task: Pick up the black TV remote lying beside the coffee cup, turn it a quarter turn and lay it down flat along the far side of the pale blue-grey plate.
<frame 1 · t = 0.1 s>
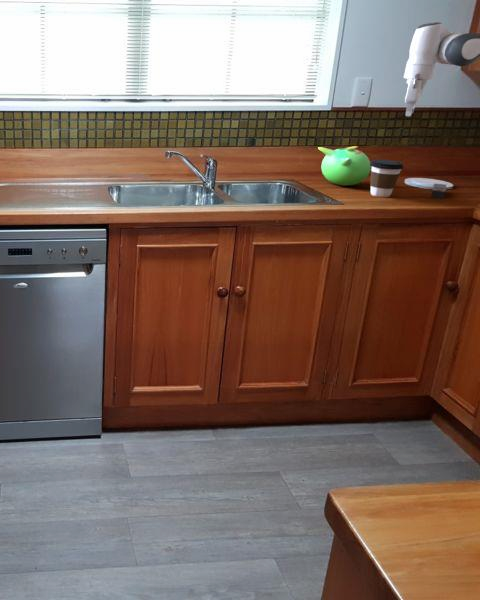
hand: (409, 114, 217), 27 cm above the table, tool pointing down, fingers open, 8 cm apart
toy bird: (340, 185, 235), on the table
plate: (428, 184, 239), on the table
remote: (437, 194, 223), on the table
coffee cup: (379, 195, 220), on the table
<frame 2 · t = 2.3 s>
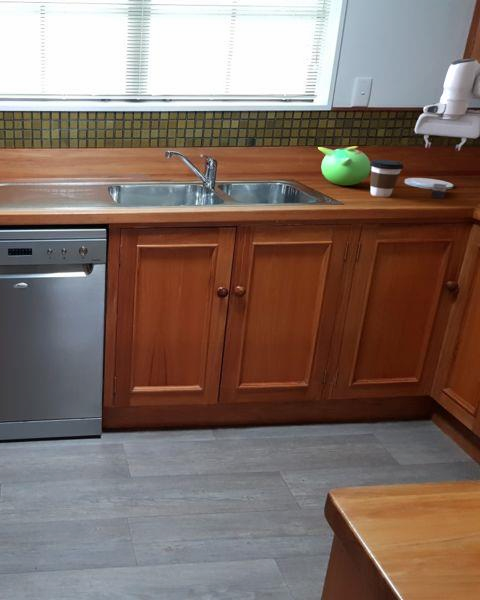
hand: (442, 148, 217), 16 cm above the table, tool pointing down, fingers open, 8 cm apart
nothing on the table moved.
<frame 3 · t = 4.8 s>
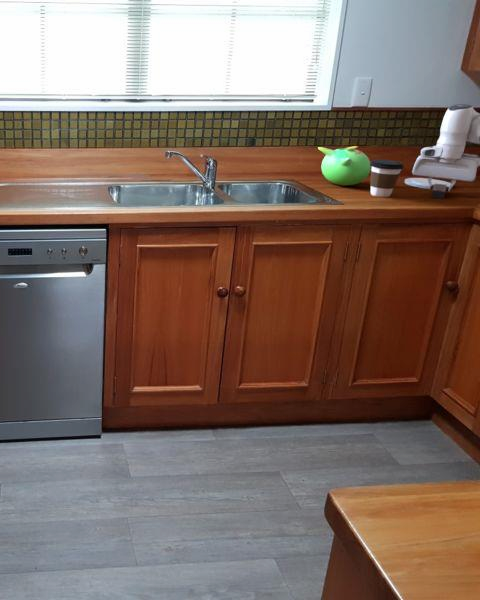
hand: (438, 190, 222), 2 cm above the table, tool pointing down, fingers closed on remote, 4 cm apart
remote: (437, 194, 223), on the table, touching gripper
everything else where it was.
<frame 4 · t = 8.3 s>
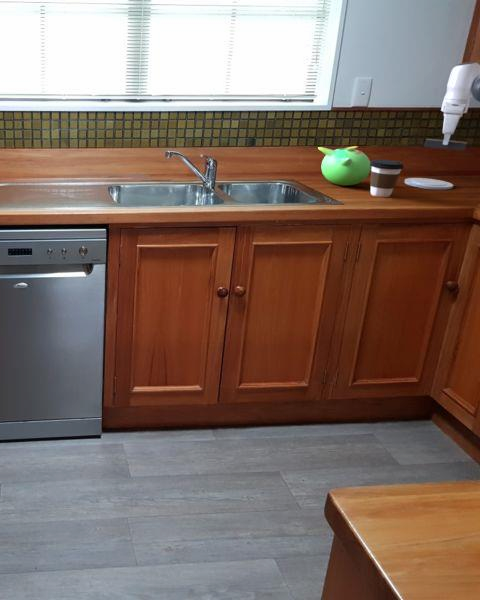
hand: (445, 143, 239), 15 cm above the table, tool pointing down, fingers closed on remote, 4 cm apart
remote: (444, 148, 239), point 13 cm above the table, touching gripper
everything else where it was.
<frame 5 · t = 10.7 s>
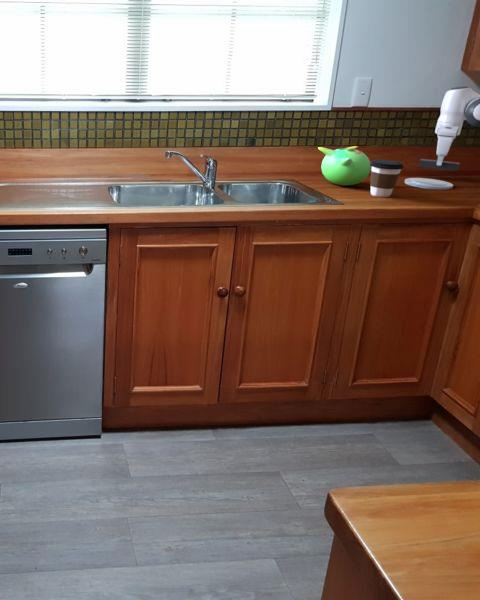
hand: (439, 164, 247), 6 cm above the table, tool pointing down, fingers closed on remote, 4 cm apart
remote: (438, 168, 248), point 5 cm above the table, touching gripper
everything else where it was.
when the fingers open (2 cm above the table, at t = 12.2 s): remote stays where it is, on the table.
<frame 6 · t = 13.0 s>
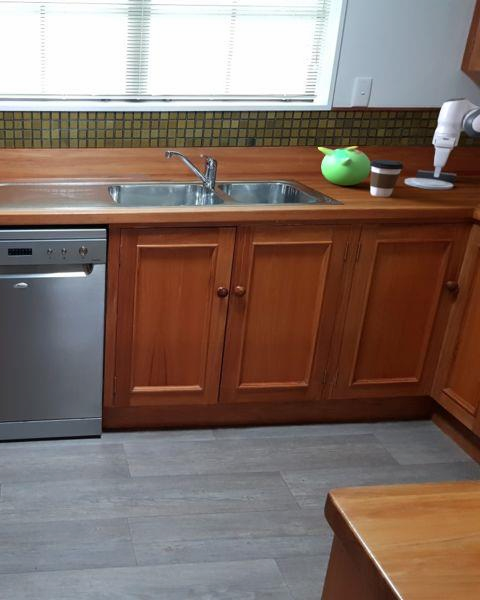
hand: (436, 174, 249), 2 cm above the table, tool pointing down, fingers open, 8 cm apart
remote: (435, 179, 250), on the table
everything else where it was.
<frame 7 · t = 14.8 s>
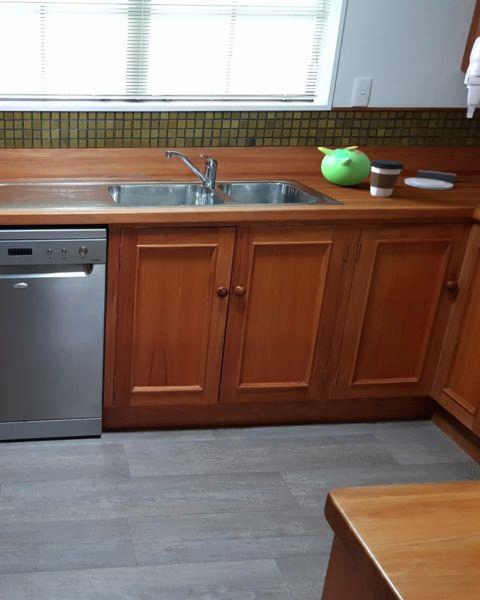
hand: (469, 116, 238), 25 cm above the table, tool pointing down, fingers open, 8 cm apart
nothing on the table moved.
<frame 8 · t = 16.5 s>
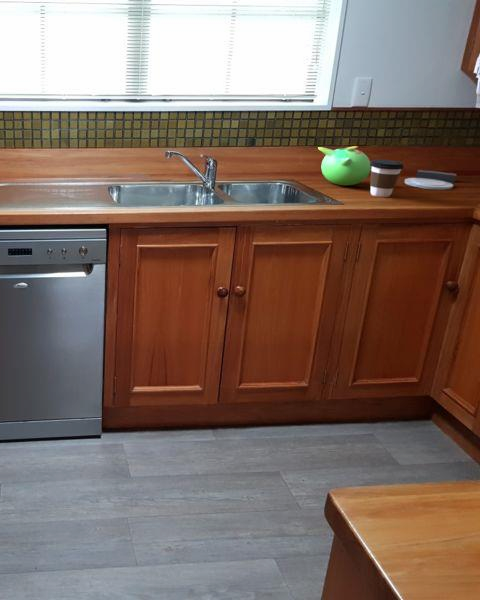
hand: (477, 106, 236), 29 cm above the table, tool pointing down, fingers open, 8 cm apart
nothing on the table moved.
at the end: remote inside the target area (0.1 cm from its centre), on the table; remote 14.3 cm from the plate (horizontally); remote tilted 0° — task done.
